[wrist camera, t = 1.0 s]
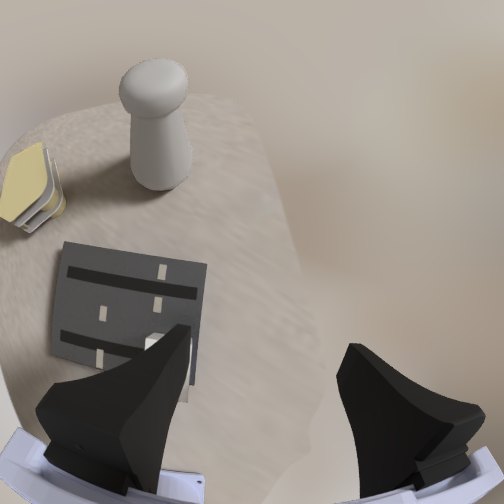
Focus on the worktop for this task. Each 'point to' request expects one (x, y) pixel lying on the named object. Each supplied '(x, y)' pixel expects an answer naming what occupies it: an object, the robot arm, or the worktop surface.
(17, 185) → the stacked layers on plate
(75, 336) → the console
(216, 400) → the worktop surface
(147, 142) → the salt shaker
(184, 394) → the white striped block
